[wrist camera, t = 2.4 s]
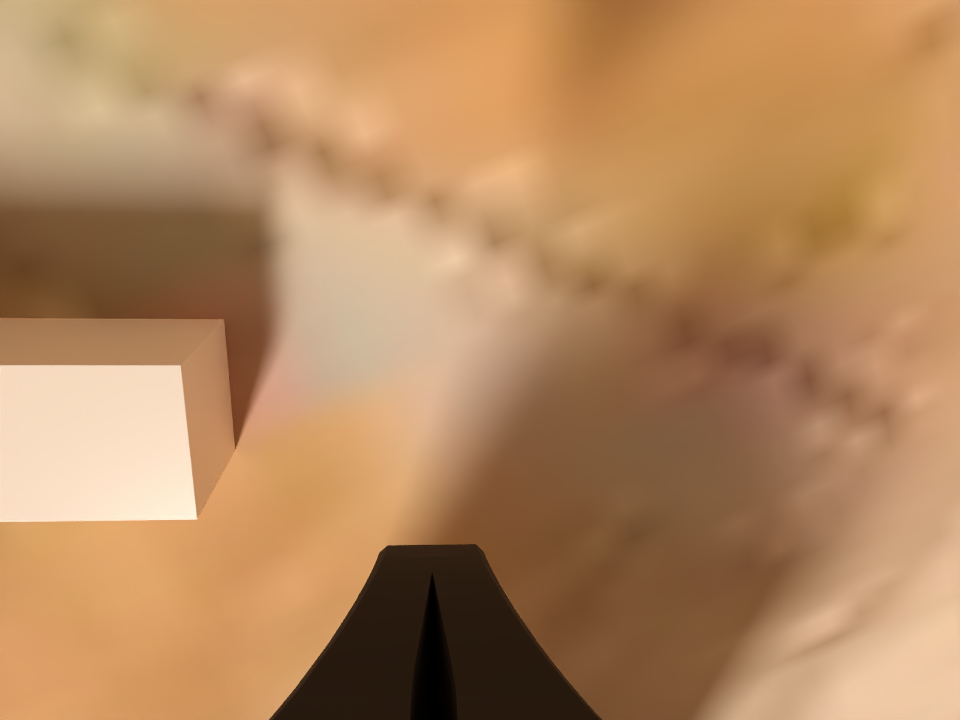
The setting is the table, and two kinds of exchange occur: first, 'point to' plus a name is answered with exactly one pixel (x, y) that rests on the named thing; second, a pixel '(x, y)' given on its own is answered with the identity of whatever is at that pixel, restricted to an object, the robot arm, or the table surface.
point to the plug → (112, 418)
